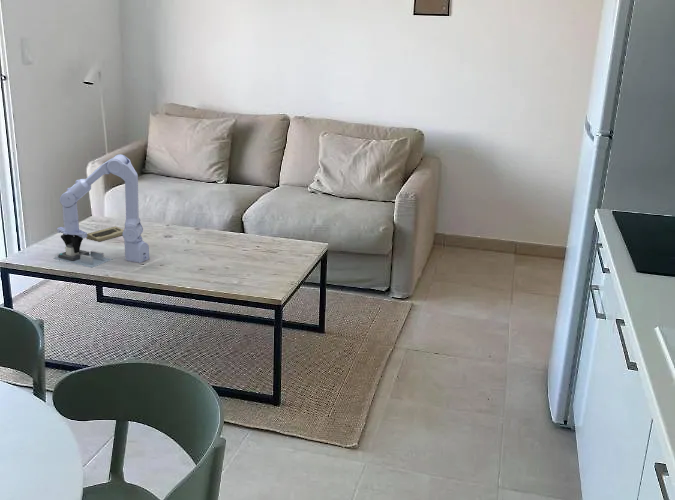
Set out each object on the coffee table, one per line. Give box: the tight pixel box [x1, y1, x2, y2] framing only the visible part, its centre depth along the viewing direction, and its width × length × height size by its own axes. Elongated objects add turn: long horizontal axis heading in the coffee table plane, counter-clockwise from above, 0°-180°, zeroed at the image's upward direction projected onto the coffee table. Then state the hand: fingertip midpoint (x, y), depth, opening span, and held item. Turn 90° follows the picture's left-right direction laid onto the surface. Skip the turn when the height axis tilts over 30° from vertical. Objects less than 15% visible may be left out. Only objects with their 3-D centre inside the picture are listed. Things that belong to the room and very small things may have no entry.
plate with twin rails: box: [80, 250, 105, 265], centre depth 295 cm, size 6×7×3 cm
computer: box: [86, 225, 124, 243], centre depth 328 cm, size 16×8×3 cm, turn 144°
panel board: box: [53, 253, 113, 269], centre depth 297 cm, size 21×12×1 cm, turn 64°
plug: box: [65, 243, 79, 256], centre depth 298 cm, size 3×4×6 cm
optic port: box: [57, 249, 90, 261], centre depth 299 cm, size 8×9×2 cm
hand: (73, 251), depth 299 cm, fingers closed on plug, 3 cm apart
